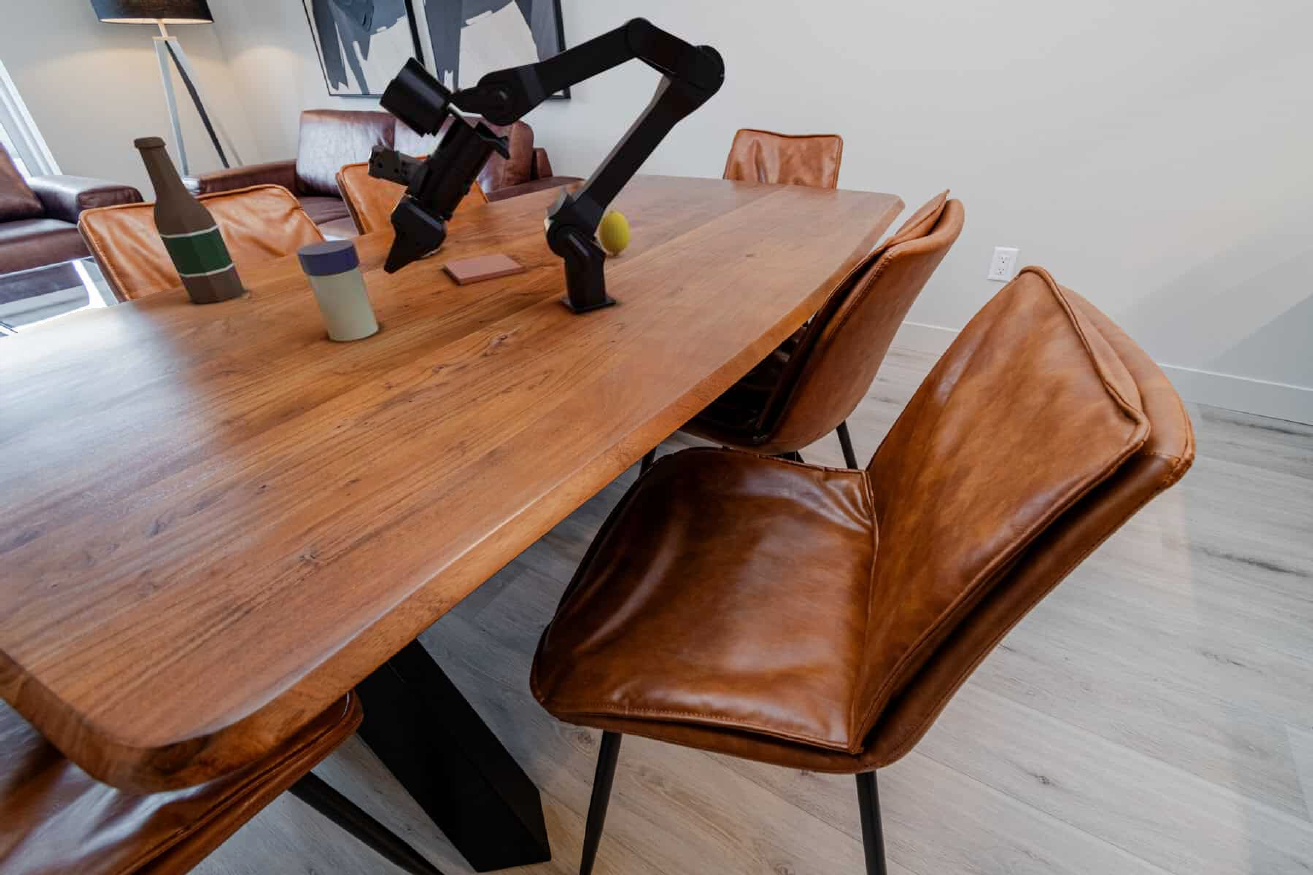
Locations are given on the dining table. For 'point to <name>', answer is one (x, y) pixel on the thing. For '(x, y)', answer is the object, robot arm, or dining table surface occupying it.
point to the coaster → (482, 268)
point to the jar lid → (328, 257)
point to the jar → (344, 304)
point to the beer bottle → (188, 230)
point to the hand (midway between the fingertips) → (391, 261)
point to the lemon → (614, 232)
